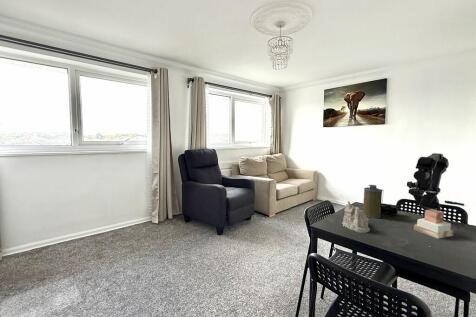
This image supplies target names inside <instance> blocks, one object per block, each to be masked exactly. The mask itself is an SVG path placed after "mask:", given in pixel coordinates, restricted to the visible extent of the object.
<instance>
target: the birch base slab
mask: <svg viewBox="0 0 476 317" xmlns="http://www.w3.org/2000/svg"><path fill="white" fill-rule="evenodd" d="M413 230H414V231H416V232H418V233H422V234H424V235H427V236H429V237H432V238H435V239H437V240H439V239H444V238H448V237H453V236H454V232H455V231H454V229H451V228H450V230H448V231H443V232H438V233H437V232H434V231H432V230H429V229H426V228H423V227H420V226H417V223H416V224H414V225H413Z"/></svg>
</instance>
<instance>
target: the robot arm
mask: <svg viewBox="0 0 476 317" xmlns="http://www.w3.org/2000/svg"><path fill="white" fill-rule="evenodd" d="M449 166H450V163H449V159H448V158H447V157H446V156H444V154H442V153H437V152H433V153H431V154H430V155H428V156H420V157H419V158H417V162H416V165H415V169H416V171H415V172H414V173H413V178H414V179H415V180H416V182H413V181H407V182H406V187H408V188H409V189H408V190H407V191H408V194H410V195H411V196H412V197H413V198H414V201H415V205H416V206H417V207H420V209H421V210H423V216H421V217H420V219H422V218H425V210H429V209H433V210H437V211H441V208H442V207H441V203H440V200H439V197H438V195H439V193H441V190H442V189H441V188H440V183H441V180H442V175H443V174H444V173H446V171H447V169H448V168H449ZM417 169H418V170H417ZM441 212H442V211H441Z"/></svg>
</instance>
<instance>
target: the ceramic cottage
mask: <svg viewBox="0 0 476 317" xmlns="http://www.w3.org/2000/svg"><path fill="white" fill-rule="evenodd" d="M369 221H370V220H369V217H367V216H366V215H365V213H364V212H363V209H362V210H360V207H358V206H357V207H356V206H354V205H352V203H351V201H349V200H348V201H347V204H345V207H344V215H343V219H342V223H341V225H342V224H343V225H342V226H343V227H344V226H345V228H346V227H347V228H346V229H349V230H351V231H353V230H354V231H353V232H356V233H362V234H366V233H369V232H370V230H371V229H370V227H369V224H370V223H369Z"/></svg>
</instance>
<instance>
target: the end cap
mask: <svg viewBox="0 0 476 317" xmlns="http://www.w3.org/2000/svg"><path fill="white" fill-rule="evenodd" d="M398 212H399V205H397V204H391V203H390V204H389V203H384V202H383V204H382V202H381V213H380V216H386V217H393V218H397V216H398Z"/></svg>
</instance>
